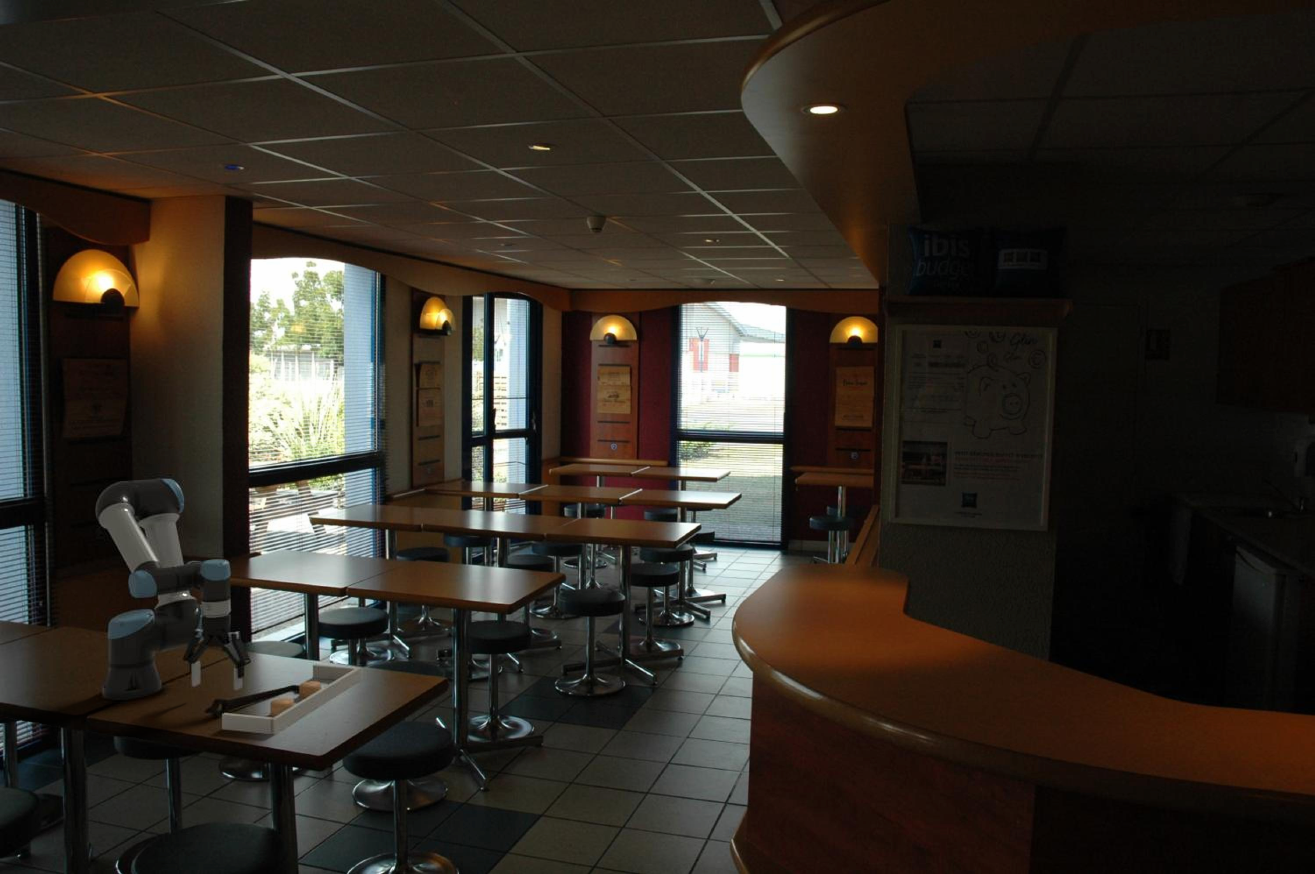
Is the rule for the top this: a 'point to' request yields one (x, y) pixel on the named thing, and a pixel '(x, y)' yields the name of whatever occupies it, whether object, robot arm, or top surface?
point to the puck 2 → (308, 689)
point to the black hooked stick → (246, 700)
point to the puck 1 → (280, 706)
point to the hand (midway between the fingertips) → (217, 686)
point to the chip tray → (274, 725)
